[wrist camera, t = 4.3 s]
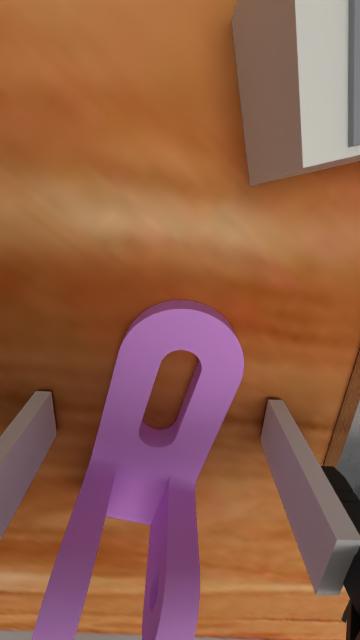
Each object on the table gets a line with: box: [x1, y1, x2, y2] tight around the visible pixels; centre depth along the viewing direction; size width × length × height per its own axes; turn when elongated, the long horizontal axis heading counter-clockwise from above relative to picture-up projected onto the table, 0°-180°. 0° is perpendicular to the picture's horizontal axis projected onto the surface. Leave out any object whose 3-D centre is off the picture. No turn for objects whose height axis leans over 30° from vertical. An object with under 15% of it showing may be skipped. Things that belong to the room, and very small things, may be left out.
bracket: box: [32, 300, 244, 640], centre depth 12 cm, size 13×6×7 cm, turn 163°
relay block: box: [231, 0, 360, 186], centre depth 8 cm, size 5×5×5 cm
